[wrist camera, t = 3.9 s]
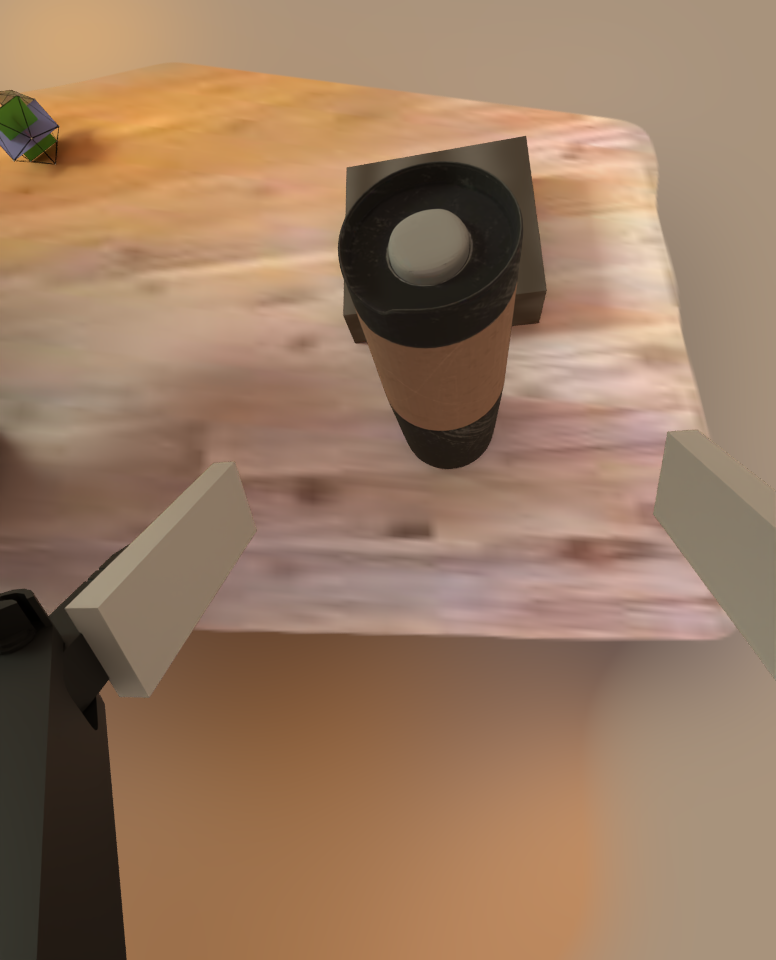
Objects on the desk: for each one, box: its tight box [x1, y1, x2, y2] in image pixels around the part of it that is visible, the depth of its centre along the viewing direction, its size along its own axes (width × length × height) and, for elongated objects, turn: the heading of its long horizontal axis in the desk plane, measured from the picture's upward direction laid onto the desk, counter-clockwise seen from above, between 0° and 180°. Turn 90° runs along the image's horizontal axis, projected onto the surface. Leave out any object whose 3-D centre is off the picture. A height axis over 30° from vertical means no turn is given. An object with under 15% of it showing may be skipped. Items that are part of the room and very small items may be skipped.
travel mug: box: [338, 161, 523, 469], centre depth 27 cm, size 8×8×20 cm
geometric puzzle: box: [0, 90, 60, 165], centre depth 53 cm, size 7×7×8 cm
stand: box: [343, 136, 547, 343], centre depth 40 cm, size 16×16×4 cm
